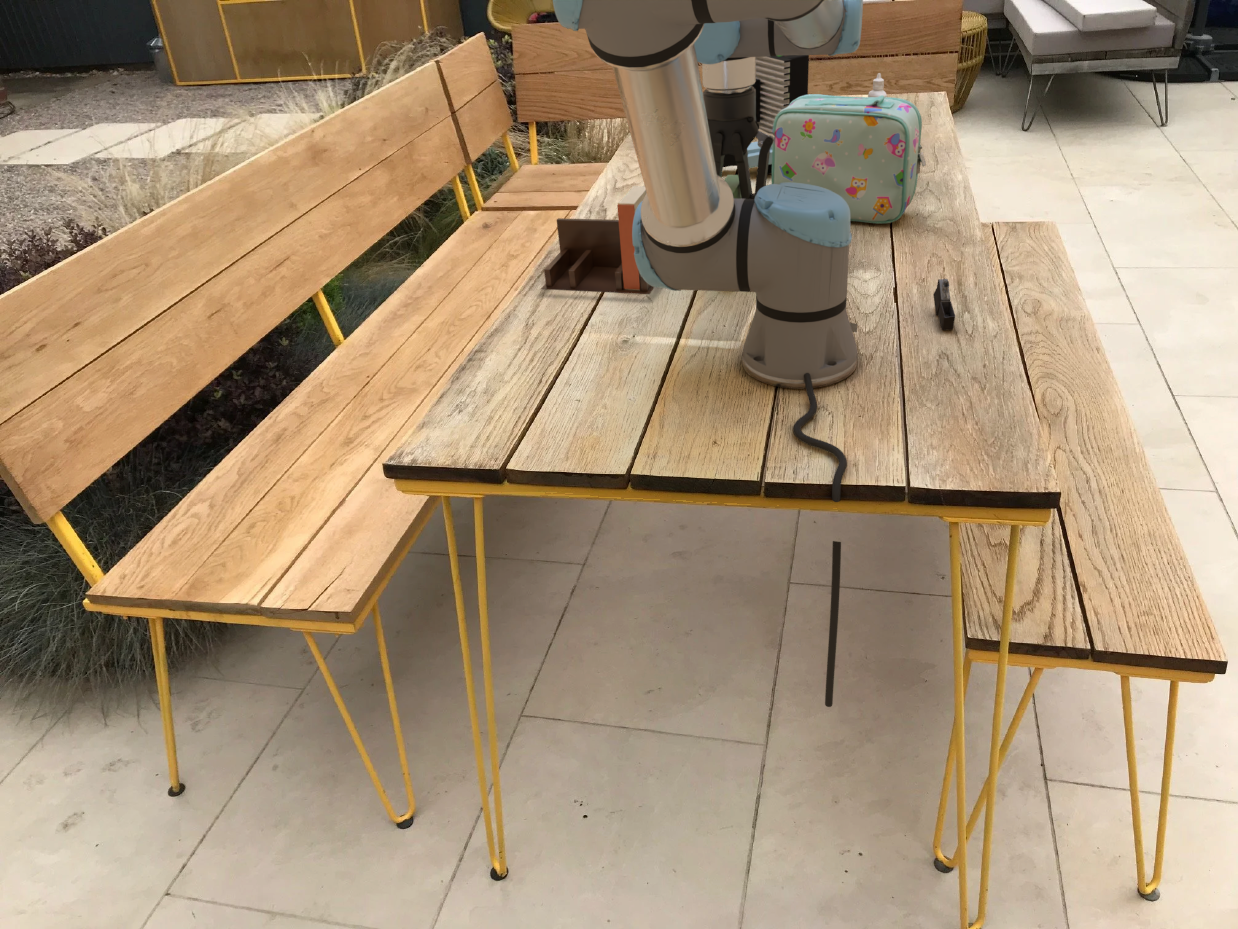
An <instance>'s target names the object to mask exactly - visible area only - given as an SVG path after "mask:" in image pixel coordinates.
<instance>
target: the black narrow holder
mask: <svg viewBox="0 0 1238 929" xmlns="http://www.w3.org/2000/svg"><path fill="white" fill-rule="evenodd" d="M932 294H933V303H934V304H933V305H934V312H935V313H934V314H935V316H937V317H938V322H939V326H940V328H941V330H942V331H953V330H954V326H955V321H956V320H955V319H956V313H955V311H954V307H953V303H952V301H951V294H950V281H949V279H948V278H939V279H937V284H936V288H935V290H934V292H933V293H932Z"/></svg>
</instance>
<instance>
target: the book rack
mask: <svg viewBox="0 0 1238 929" xmlns="http://www.w3.org/2000/svg"><path fill="white" fill-rule="evenodd" d="M556 228H557V235H558V244H559V245H558V246H559V253H557V255H556V256H555V257H554V258H553V259H552V260H551V261H550V262H549V264H547V266H546V267H545V268H544V269H543V273H544V281H545V284H544V285H543V286H542V287H541V288H540V290H548V291H549V290H550V291H551V290H553V291H569V292H571V291H572V292H592V293H594V292H595V293H614V294H635V295H650V294H651V293H652V291H653V290H654V288H655V287H653V286H651V285H649V284H648V283H647V282H646V281H645V280H644V279H643V278H642V276H641V274H640V277H641V290H625V289H624V282H623V270H622V257H621V245H620V232H619V220H618V219H604V218H603V219H598V218H597V219H596V218H564V217H563V218H562V217H561V218H559V217H558V218H556Z"/></svg>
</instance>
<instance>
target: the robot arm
mask: <svg viewBox="0 0 1238 929" xmlns="http://www.w3.org/2000/svg"><path fill="white" fill-rule="evenodd" d="M552 5H553V10H554V13H555V14H554V15H555V17H556V19H557V21H558V23H559V25H560V26H561V27H563V28H565V29H568V30H569V29H570V30H572V31H573V32H578V31H579V30H582V29H584V30H585V33H586V37H587V40H588V43H589V46H590V49H591V51H592V52H593V54H594V55H595V56H596V57H597V58H598V59H599V60H600V61H601V62H603V63H605V64H607V65H608V66H611V68H612V72H613V75H614V80H615V83H616V87H617V90H618V94H619V97H620V101H621V104H622V109H623V112H624V115H625V119H626V122H627V126H628V130H629V134H630V138H631V141H632V145H633V148H634V151H635V155H636V159H637V162H638V166H639V171H640V174H641V177H642V181H643V186H645V188H646V192H647V194H646V195H645V197H644V199H643V201H641V202H640V204H639V205H638V207H637V209H636V211H635V215H634V219H633V227H632V241H633V246H634V248H635V252H634V257H635V261H636V265H637V268H638V270H639V273H640V274H641V276H642V278H643V279H644V280H645V281H646V282H647V283H648V284H649V285H651V286H653V287H654V288H656V289H665V290H666V289H667V290H669V291H674V292H677V291H678V292H680V291H702V292H703V291H708V292H709V291H710V292H711V291H712V292H744V293H745V292H746V293H755V312H754V314H753V317H752V321H751V323H750V326H749V329H748V332H747V335H746V338H745V341H744V342H743V343H744V344H743V347H742V353H741V354H742V355H741V356H742V357H741V358H742V360H741V361H742V367H743V369H744V371H745V372H746V373H747V375H749V376H750V377H752V378H753V379H755V380H756V381H758V382H760V383H763V384H765V385H769V386H773V387H778V388H784V389H794V390H795V389H796V390H798V389H800V390H802V389H803V390H804V389H805V391H806V395H807V399H808V403H809V409H808V411H806V413H805V414H803V415H802V416H801V417H800V418H798V419H797V421H795V422H794V424H793V426H792V432H793V435H794V437H796V438H797V439H798V440H799V441H800V442H802V443H804V444H806V445H809V446H811V447H815V448H818V449H820V450H824V451H826V452H828V453H830V454H832V455H833V456H835V458H836V459H837V461H838V465H837V467H836V469H835V472H834V474H833V478H832V483H831V485H832V486H831V501H832V502H834V503H839V502H841V489H842V480H843V476H844V474H845V472H846V470H847V466H848V461H847V460H848V459H847V457H846V455H845V453H844V452H843V451H842V450H841V449H840V448H839V447H837V446H836V445H834V444H832V443H829V442H827V441H824V440H820V439H818V438H814V437H812V436H809V435H807V434H805V433H803V431H802V427H803V426H805V425H806V424H807V423H808V422H810V421H811V419H813V418H814V416H815V415H816V413H817V410H818V402H817V401H818V400H817V398H816V394H815V391H814V389H817V388H823V387H826V386H831V385H834V384H837V383H839V382H842V381H843V380H845V379H847V378H848V377H850V376H851V375H852V374H853V373H854V372H855V370H856V368H857V366H858V354H859V353H858V346H857V343H856V339H855V335H854V333H858V323H855V322H850V319H849V316H848V312H847V299H848V298H847V297H848V281H849V279H848V278H849V260H850V259H849V256H850V245H851V243H852V240H853V235H852V232H851V221H850V209H849V206H848V204H847V202H846V201H845V200H844V199H843V198H842V197H841V196H839V195H838V194H836V193H834V192H832V191H830V190H828V189H825V188H822V187H819V186H815V185H810V184H803V183H790V182H785V183H780V184H772V183H770V184H767V181H768V180H767V179H768V174H767V172H768V163H769V154H770V148H771V146H772V144H773V142H774V140H775V138H776V135H775V134H774V133H772V132H771V133H767V132H765V131H763V130H761V129H759V124H758V122H757V120H756V90H755V89H754V87H753V86H752V85H753V84H754V83H755V82H756V57H769V56H782V55H809V56H828V57H831V56H832V57H833V56H836V55H844V54H852V53H855V52H856V51H857V50H858V49H859V47H860V44H861V37H862V29H863V28H862V26H863V10H864V9H863V8H864V0H552ZM699 64H701V74H700V67H699ZM703 88H705V89H704V90H703ZM755 138H757V141H758V146H759V147H760V148H761V149H760V152H759V159H758V167H756V178H755V188H754V192H753V188H752V187H753V186H752V180H751V172H750V168H749V164H748V151H747V148H748V147H749V145H750V144H751V143H752V142H754V139H755ZM727 154H730V155H735V161H736V163H737V166H736V169H737V175H738V177H739V184H740V191H741V198H742V199H734V197H733V193H732V190H731V189H730V187H729V185H728V184H727V182H726V181H725V178H723V171H724V167H723V162H724V156H725V155H727ZM831 550H832V554H831V556H832V557H831V590H830V610H829V611H830V612H829V630H828V646H827V647H828V648H827V660H826V661H827V662H826V677H825V678H826V679H825V696H824V705H825V707H827V708H831V707H832V706H833V704H834V703H833V702H834V700H833V699H834V687H835V684H834V683H835V670H836V669H835V668H836V654H837V641H838V627H839V626H838V624H839V611H840V608H839V607H840V592H841V591H840V590H841V588H840V587H841V564H842V563H841V562H842V560H841V559H842V541H836V540H832V549H831Z"/></svg>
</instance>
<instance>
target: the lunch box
mask: <svg viewBox="0 0 1238 929" xmlns="http://www.w3.org/2000/svg"><path fill="white" fill-rule="evenodd" d="M922 127H923V119H922V115H921V112H920V110H919V108H918V107H917V106H916V105H915V104H914V103H912V102H911V101H910V100H908V99H903V98H900V97H890V96H887V97H884V96H883V95H881V96H879V97H868V96H866V97H865V96H845V95H844V96H843V95H830V94H820V93H819V94H818V93H808V95H804V96H801V97H798V98H796V99H795V100H793V101H792V102H791V103H790V104H789V106H788V107H786V108H784V109H783V110H781V111H780V112H779V113H778V114H777V115H776V117H775V119H774V123H773V130H772V133H774V134H775V135H776V138H775V140H774V142H773V144H772V174H771V184H780V183H785V182H790V183H803V184H810V185H815V186H819V187H822V188H825V189H828V190H830V191H832V192H834V193H836V194H838V195H839V196H841V197H842V198H843V199H844V200H845V201H846V202H847V204H848V206H849V209H850V222H860V223H869V224H891V223H894V222H896V221H898V220H899V219H901V217H902V216H903V215H904V213H905V212H906V209H907V208H908V206H910V204H911V203H912V201H913V199H914V196H915V194H916V190H917V186H918V178H919V174H920V173H921V166H922V167H926V165H927V164H926V159H925V155H924V151H921V150H922V149H923V146H922V144H921V139H922Z"/></svg>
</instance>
